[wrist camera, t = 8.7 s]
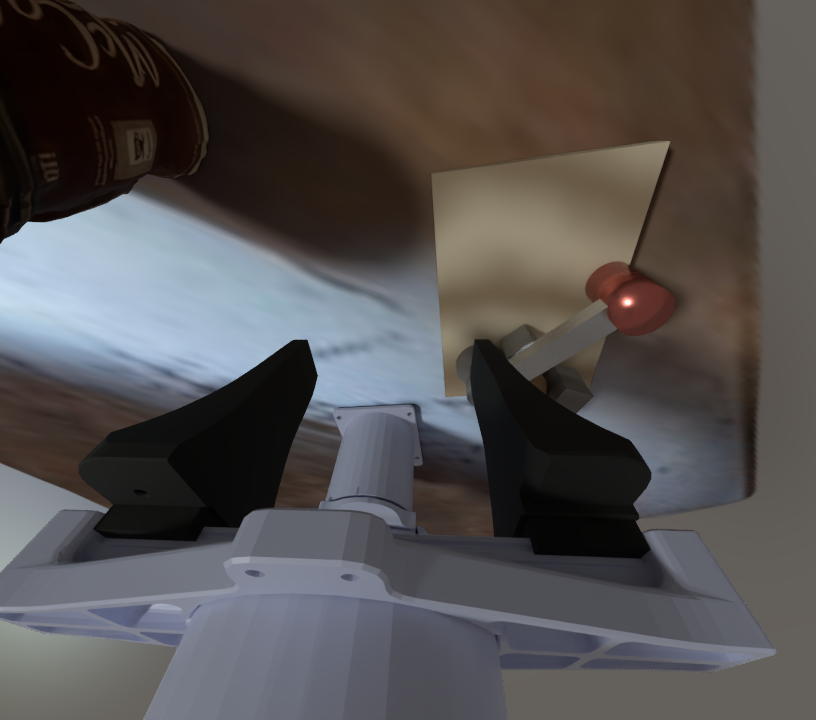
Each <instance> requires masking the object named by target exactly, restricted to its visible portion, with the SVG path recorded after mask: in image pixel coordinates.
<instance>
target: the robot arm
mask: <svg viewBox="0 0 816 720" xmlns="http://www.w3.org/2000/svg"><path fill="white" fill-rule="evenodd" d="M317 377H318V375H317V371H316V368H315V364H314V361H313V357H312V354H311V350H310V347H309V343H308V340H293V341H291V342H289V343H288V344H287V345H285V346H284V347H282V348H281V349H279V350H278V351H277V352H275V353H274V354H273V355H271V356H270V357H268V358H267V359H266V360H264V361H263V362H261V363H260V364H259V365H257V366H256V367H254V368H253V369H251V370H250V371H248V372H247V373H245V374H244V375H242V376H241V377H239V378H238V379H236V380H234V381H233V382H231V383H229V384H228V385H226V386H224V387H222V388H220V389H219V390H217V391H215V392H213V393H211V394H209V395H207V396H205V397H203V398H201V399H199V400H196V401H194V402H192V403H190V404H188V405H186V406H183V407H181V408H179V409H176V410H174V411H171V412H169V413H166V414H164V415H161V416H159V417H156V418H153V419H150V420H148V421H145V422H142V423H139V424H136V425H132V426H129V427H126V428H123V429H120V430H117V431H114V432H111V433H110V434H109V435H108V436H107V437H106V438H105V439H104V440H103V441H102V442H101V443H100V444H99V445H98V446H97V447H96V448H95V449H93V450H92V451H91V452H90V453H89V454H88V455H87V456H86V457H85V458H84V459H83V460H82V461H81V462H80V463H79V464H78V471H79V474H80V476H81V477H82V479H83V480H84V481H85V482H86V483H87V484H88V485H90V486H91V487H92V488H93V489H95V490H96V491H97V492H98V493H100V494H101V495H102V496H103V497H105V498H106V499H107V500H108V501H110V502H111V503H112V504H113V506H112V507H111V508H110V509H109V511H108V512H107V513H106V514H104V513H102V512H99V511H93V510H61V511H59V512H58V513H57V514H56V515H55V516H54V517H53V518H52V519H51V520H50V521H49V522H48V524H47V525H46V526H45V527H44V528H43V529H42V530H41V531H40V532H39V533H38V534H37V535H36V536H35V537H34V538H33V539H32V540H31V541H30V542H29V543H28V544H27V545H26V546H25V548H24V549H23V550H22V551H21V552H20V553H19V554H18V555H17V556H16V557H15V558H14V559H13V560H12V561H11V562H10V563H9V564H8V565H7V566H6V567H5V568H4V569H3V570H2V572H0V620H3V621H6V622H9V623H12V624H15V625H18V626H21V627H24V628H28V629H31V630H34V631H37V632H40V633H44V634H58V635H71V636H83V637H94V638H104V639H114V640H123V641H131V642H139V643H148V644H156V645H165V646H173V647H178V648H177V650H176V652H175V655H174V656H173V659H172V661H171V663H170V665H169V667H168V669H167V671H166V673H165V675H164V677H163V679H162V682H161V684H160V686H159V688H158V690H157V692H156V694H155V696H154V698H153V700H152V702H151V704H150V706H149V708H148V711H147V713H146V715H145V717H144V719H143V720H508V716H507V709H506V701H505V694H504V687H503V680H502V672H501V670H651V671H653V670H654V671H679V672H700V673H712V672H715V671H719V670H722V669H726V668H729V667H732V666H736V665H740V664H743V663H747V662H750V661H754V660H757V659H761V658H764V657H768V656H771V655H775V654H776V648H775V647H774V646H773V644H772V642H771V641H770V639H769V638H768V636H767V635H766V633H765V632H764V630H763V629H762V627H761V626H760V624H759V623H758V621H757V620H756V618H755V617H754V616H753V614H752V613H751V611H750V610H749V608H748V607H747V605H746V604H745V602H744V601H743V599H742V598H741V596H740V595H739V593H738V592H737V590H736V589H735V588H734V586H733V584H732V583H731V581H730V580H729V578H728V577H727V576H726V574H725V573H724V571H723V570H722V568H721V567H720V565H719V564H718V562H717V561H716V559H715V558H714V556H713V555H712V553H711V552H710V550H709V549H708V547H707V546H706V544H705V543H704V541H703V540H702V538H701V537H700V535H699V534H698V533H697V532H696V531H693V530H673V529H650V530H647V531H644V532H641V531H640V529H639V527H638V525H637V523H636V521H637V520H638V519H639V514H638V513H637V511H636V509H635V507H634V505H633V503H634V502H635V501H636V500H637V498H638V497H639V496H640V495H641V494H642V492H643V491H644V490H645V489H646V487H647V486H648V484H649V482H650V480H651V471H650V469H649V467H648V466H647V464H646V463H645V461H644V459H643V458H642V456H641V455H640V453H639V452H638V450H637V449H636V448H635V446H634V445H633V444H632V442H631V441H630V440H628V439H626V438H624V437H622V436H620V435H617V434H615V433H613V432H611V431H608V430H606V429H604V428H602V427H600V426H598V425H596V424H594V423H592V422H590V421H588V420H586V419H584V418H583V417H581V416H579V415H577V414H575V413H574V412H572V411H570V410H569V409H567V408H566V407H564V406H562V405H561V404H559V403H558V402H556V401H555V400H553V399H552V398H550V397H549V396H548V395H546V394H545V393H544V392H542V391H541V390H540V389H538V388H537V387H536V386H534V385H533V384H532V383H531V382H530V381H529V380H527V379H526V378H525V377H524V376H523V375H522V374H521V373H520V372H519V371H518V370H517V369H516V368H515V367H514V366H513V365H512V364H511V363H510V362H509V361H508V360H507V359H506V358H505V357H504V356H503V354H502V353H501V352H500V351H499V350H498V349H497V348H496V346H495V345H494V344H493V343H492V342H491V341H490V340H489V339H474V347H473V355H472V364H471V372H470V381H471V391H472V398H473V402H474V406H475V411H476V415H477V419H478V423H479V427H480V431H481V435H482V439H483V444H484V449H485V457H486V464H487V472H488V480H489V489H490V498H491V507H492V517H493V528H494V537H479V536H451V535H427V534H426V532H425V530H424V528H422V527H416V513H414V512H412V498H413V471H414V466H420V465H422V464H423V459H422V453H421V446H420V440H419V433H418V427H417V420H416V414H415V408H414V406H413V405H391V406H372V407H352V408H336V409H334V412H333V415H334V418H335V420H336V423H337V425H338V428H339V430H340V433H341V435H342V442H341V446H340V449H339V453H338V457H337V460H336V464H335V468H334V471H333V475H332V479H331V482H330V486H329V490H328V494H327V497H326V501H321V502H320V506H319V509H303V508H274V505H275V501H276V497H277V493H278V489H279V485H280V481H281V478H282V474H283V470H284V467H285V464H286V460H287V457H288V454H289V451H290V447H291V444H292V442H293V439H294V437H295V434H296V432H297V430H298V428H299V425H300V423H301V421H302V419H303V416H304V414H305V412H306V409H307V407H308V405H309V402H310V400H311V398H312V395H313V392H314V388H315V385H316V381H317ZM340 416H341V417H340Z"/></svg>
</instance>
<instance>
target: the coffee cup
mask: <svg viewBox="0 0 816 720" xmlns="http://www.w3.org/2000/svg"><path fill="white" fill-rule="evenodd" d="M208 140H209V134H208V127H207V119H206V116H205V112H204V109H203V107H202V104H201V102H200V101H199V99H198V97H197V95H196V93H195V92H194V90H193V88H192V86H191V84H190V82H189V81H188V79H187V78H186V76H185V75H184V73H183V72H182V70H181V69H180V67H179V66H178V64H177V63H176V62H175V60H174V59H173V58H172V57H171V56H170V54H169V53H168V52H167V51H166V50H165V48H164V47H163V46H162V45H161V44H160V43H158V42H157V41H156V40H155V39H152V38H150V37H149V36H148V35H146V34H145V33H144V32H143V31H142V30H140V29H139V28H138V27H136V26H134V25H132V24H129V23H126V22H124V21H121V20H117V19H112V18H99V17H97V16H95V15H93V14H91V13H89V12H88V11H86V10H84V9H83V8H81V7H80V6H79V5H77V4H75V3H73V2H72V1H69V0H0V244H1V242H2V241H3V240H4V239H5V238H7V237H10V236H12V235H14V234H15V233H17V232H18V231H19V230H20V229H21V227H22V226H23V225H24V224H25V223H27V222H49V221H53V220H57V219H62V218H66V217H69V216H71V215H74V214H77V213H80V212H83V211H86V210H89V209H92V208H95V207H97V206H100V205H103V204H105V203H108V202H109V201H111V200H112V199H115V198H117V197H118V196H120V195H122V194H128V193H129V192H130V191H131V189H132V188H133V186H134V184H135V183H136V182H138V179H139V178H142V177H143V176H145V175H146V174H150V175H154V176H159V177H163V178H176V177H178V176H181V175H185V174H186V175H191V174H193V173H194V172H196V171H197V169H198V167H199V165H200V162H201V160H202V159H203V157H205V155H206V153H207V150H206V144H207V143H208Z"/></svg>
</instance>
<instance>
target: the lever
mask: <svg viewBox="0 0 816 720" xmlns="http://www.w3.org/2000/svg"><path fill="white" fill-rule="evenodd" d="M585 293H586V296H587V297H588V298H589V300H590V301H591V302H592V303H593V304H591V305H590V306H588V307H587V308H585V309H583V310H582V311H580V312H579V313H577V314H576V315H574V316H573V317H571V318H570V319H568V320H567V321H565V322H564V323H562V324H560V325H559V326H557V327H556V328H554V329H553V330H551V331H550V332H548V333H547V334H545V335H544V336H542V337H540V338H539V339H537V338H536V337H535V336H534V335H533V334H532V333H531V331H530V330H529V329H528V328H527V327H526V326H525V325H524V324H523V325H522V326H520V327H519V328H517V329H516V330H514V331H513V332H512V333H510V334H509V335H507V336H506V337H504V338H503V339H502V340H500V341H501V344H502V346H503V349H504V352H505V355H506V358H507V360H508V361H509V362H510V363H511V364H512V365H513V366H514V367H515V368H516V369H517V370H518V371H519V372H520V373H521V374H522V375H523V376H524V377H525V378H526V379H527V380H529V381H530V380H532V379H533V378H535V377H537V376H539V375H540V374H542V373H544V372H545V371H547V370H549V369H550V368H552V367H554V366H556V365H557V364H559V363H561V362H562V361H564V360H566V359H567V358H569V357H571V356H573V355H574V354H576V353H578V352H579V351H581V350H583V349H584V348H586V347H588V346H590V345H591V344H593V343H595V342H596V341H598V340H600V339H602V338H603V337H605V336H607V335H608V334H610V333H612V332H613V331H615V330H617V329H618V330H619V331H620V332H621V333H623V334H626V335H630V336H638V335H644V334H647V333H650V332H652V331H654V330H656V329H657V328H659V327H660V326H662V325H663V324H664V323H665V322H666V321H667V320H668V319H669V318H670V317H671V315H672V314H673V312H674V309H675V305H676V301H675V298H674V296H673V294H672V293H670V292H669V291H667V290H666V289H664V288H663V287H661V286H660V285H658V284H657V283H655V282H654V281H652V280H651V279H649V278H648V277H647V276H645V275H644V274H642V273H641V272H639V271H638V270H636V269H635V268H633V267H632V266H630V265H629V264H627V263H625V262H621V261H615V262H610V263H607V264H604V265H603V266H601V267H599V268H598V269H596V270H595V271H594V272H593V273H592V274H591V276H590V277H589V279H588V280H587V283H586V286H585ZM465 387H466V394H467V399H468V401H469V402H470V403H471V404H472V405H473V406H474V402H473V398H472V391H471V381H470V376H469V378H468V379H467V381H466V384H465Z"/></svg>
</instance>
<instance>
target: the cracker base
mask: <svg viewBox="0 0 816 720" xmlns="http://www.w3.org/2000/svg"><path fill="white" fill-rule="evenodd" d="M669 144H670V141H652V142H645V143H637V144H630V145H623V146H615V147H608V148H601V149H593V150H586V151H579V152H571V153H564V154H557V155H550V156H542V157H535V158H528V159H520V160H513V161H506V162H498V163H491V164H484V165H476V166H469V167H462V168H454V169H447V170H440V171H433V172H431V179H432V195H433V210H434V226H435V241H436V257H437V272H438V288H439V304H440V319H441V335H442V350H443V366H444V381H445V396H446V397H453V396H467V394H466V387H465V384H466V381H467V379H468V378H469V376H470V372H471V364H472V355H473V347H474V339H489V340H490V341H491V342H492V343H493V344H494V345H495V346H496V348H497V349H498V350H499V351H500V352H501V353H502V354H503V356H504V357H505V358H506V355H505V352H504V349H503V346H502V344H501V341H500V340H502V339H503V338H504V337H506V336H507V335H509V334H510V333H512V332H513V331H514V330H516V329H517V328H519V327H520V326H522V325H523V324H524V325H525V326H526V327H527V328H528V329H529V330H530V331H531V333H532V334H533V335H534V336H535V337H536V338H537V339H539V338H540V337H542V336H544V335H545V334H547V333H548V332H550V331H551V330H553V329H554V328H556V327H557V326H559V325H560V324H562V323H564V322H565V321H567V320H568V319H570V318H571V317H573V316H574V315H576V314H577V313H579V312H580V311H582V310H583V309H585V308H587V307H588V306H590V305H591V304H593V303H592V302H591V301H590V300H589V298H588V297H587V296H586V293H585V286H586V283H587V280H588V279H589V277H590V276H591V274H592V273H593V272H594V271H595V270H596V269H598V268H599V267H601V266H603V265H604V264H607V263H610V262H615V261H621V262H625V263H627V264H629V265H630V263H631V260H632V257H633V253H634V250H635V247H636V244H637V241H638V238H639V235H640V232H641V229H642V226H643V223H644V220H645V217H646V214H647V211H648V208H649V205H650V202H651V199H652V196H653V192H654V189H655V186H656V183H657V180H658V177H659V174H660V171H661V168H662V165H663V162H664V159H665V156H666V153H667V150H668V147H669ZM605 339H606V336H605V337H603V338H602V339H600V340H598V341H596V342H595V343H593V344H591V345H590V346H588V347H586V348H584V349H583V350H581V351H579V352H578V353H576V354H574V355H573V356H571V357H569V358H567V359H566V360H564V361H562V362H561V363H559V364H557V365H556V366H554V367H552V368H550V369H549V370H547V371H545V372H544V373H542V374H540V375H539V376H537V377H535V378H533V379H532V380H530V382H531V383H532V384H533V385H534V386H536V387H537V388H538V389H540V390H541V391H542V392H544V393H545V394H546V395H548V396H549V397H550V398H552V399H553V400H555V401H556V402H558V403H559V404H561V405H562V406H564V407H566V408H567V409H569V410H570V411H572V412H574V413H575V414H576V413H577V412H578V411H579V410H580V409H581V408H582V407H583V406H584V405H585V404H586V403H587V402H588V401H589V400H590V399H591V398H592V397H593V395H592V393H591V392H590V390H589V388H590V385H591V382H592V379H593V376H594V372H595V369H596V366H597V363H598V360H599V357H600V354H601V351H602V348H603V345H604V342H605ZM506 359H507V358H506Z"/></svg>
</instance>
